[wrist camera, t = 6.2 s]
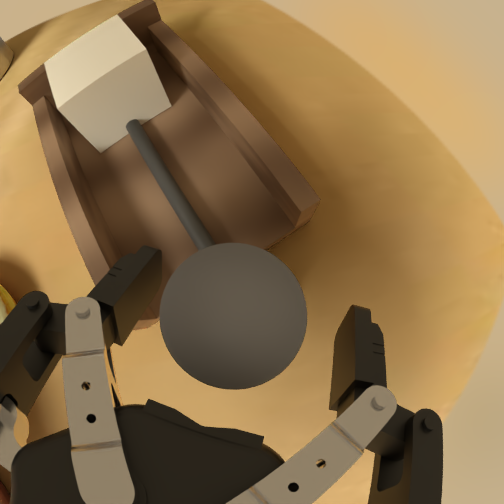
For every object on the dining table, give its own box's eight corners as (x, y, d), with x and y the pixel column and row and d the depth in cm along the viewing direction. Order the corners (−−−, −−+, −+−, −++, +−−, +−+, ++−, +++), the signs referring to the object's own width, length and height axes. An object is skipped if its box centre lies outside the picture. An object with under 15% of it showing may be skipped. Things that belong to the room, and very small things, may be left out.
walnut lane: (54, 120, 21) (18, 84, 16) (166, 46, 22) (149, -3, 16) (147, 328, 18) (100, 334, 12) (309, 221, 19) (328, 184, 13)
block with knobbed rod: (80, 106, 20) (17, 29, 10) (141, 66, 21) (98, -25, 11) (222, 366, 17) (174, 433, 7) (312, 307, 17) (373, 307, 7)
